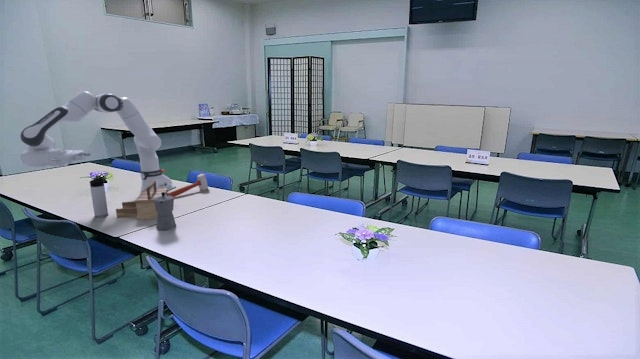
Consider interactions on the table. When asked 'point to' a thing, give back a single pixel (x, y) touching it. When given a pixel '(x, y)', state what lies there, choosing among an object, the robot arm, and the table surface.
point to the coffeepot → (164, 212)
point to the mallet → (192, 186)
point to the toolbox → (142, 204)
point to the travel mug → (99, 197)
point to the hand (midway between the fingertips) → (87, 155)
